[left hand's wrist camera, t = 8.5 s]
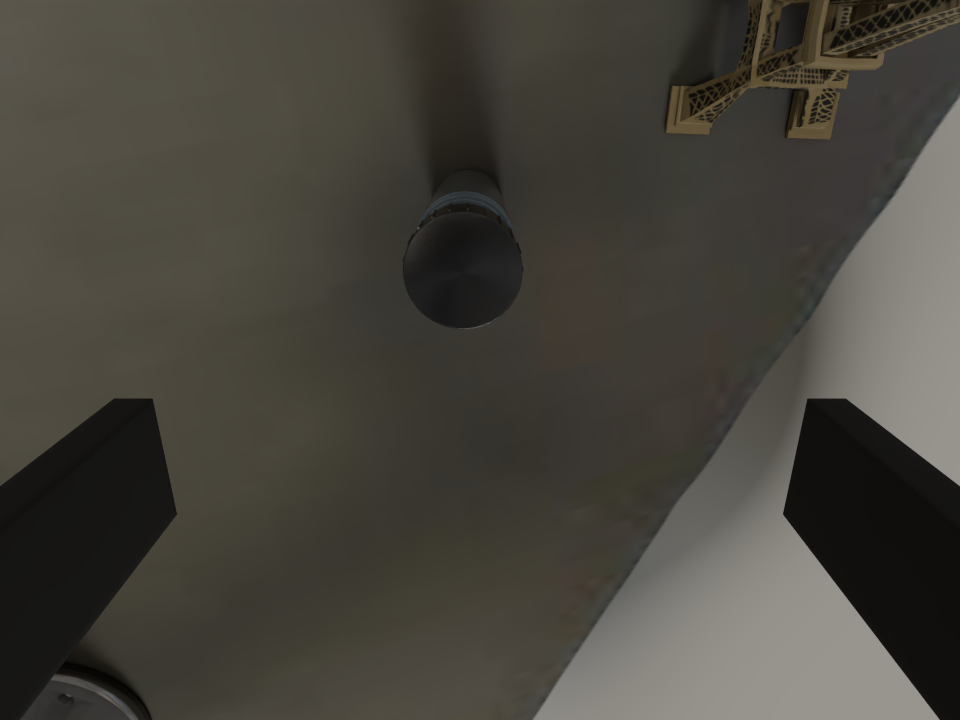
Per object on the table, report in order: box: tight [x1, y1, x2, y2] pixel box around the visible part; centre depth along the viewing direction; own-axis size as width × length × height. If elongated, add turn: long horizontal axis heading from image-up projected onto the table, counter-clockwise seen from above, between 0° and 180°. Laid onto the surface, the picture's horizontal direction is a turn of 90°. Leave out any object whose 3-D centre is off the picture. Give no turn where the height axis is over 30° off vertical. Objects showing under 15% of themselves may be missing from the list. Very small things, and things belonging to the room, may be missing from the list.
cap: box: [403, 202, 523, 329], centre depth 24 cm, size 4×4×2 cm
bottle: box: [417, 169, 515, 238], centre depth 32 cm, size 5×5×20 cm
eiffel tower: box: [665, 0, 960, 139], centre depth 26 cm, size 11×11×25 cm
